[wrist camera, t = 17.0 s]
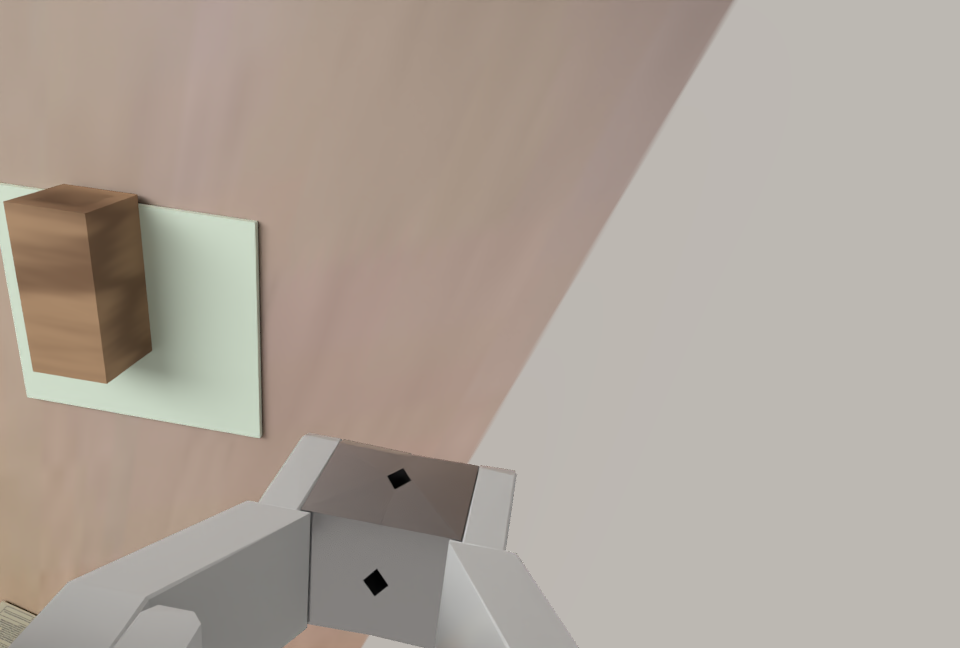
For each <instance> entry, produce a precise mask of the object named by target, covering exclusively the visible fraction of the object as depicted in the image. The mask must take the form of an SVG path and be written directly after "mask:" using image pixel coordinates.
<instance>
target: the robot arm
mask: <svg viewBox="0 0 960 648" xmlns="http://www.w3.org/2000/svg"><path fill="white" fill-rule="evenodd" d="M515 481H516V472H515V471H514V470H508V469H502V468H495V467H488V466H482V465H481V466H480V468H479V466H476V465H471V464H465V463H459V462H454V461H448V460H442V459H437V458H431V457H425V456H420V455H414V454H411V453H408V452H403V451H398V450H393V449H388V448H384V447H379V446H374V445H369V444H365V443H360V442H355V441H350V440H345V439H344V440H342V439H340V438H335V437H330V436H324V435H319V434H314V433H308V434H306V435H304V436H303V437H302V438H301V439H300V441H299V442H298V444H297V445H296V447H295V448H294V450H293V451H292V453H291V454H290V456H289V457H288V459H287V460H286V462H285V463H284V465H283V466H282V467H281V469H280V470H279V472H278V473H277V475H276V476H275V478H274V479H273V481H272V482H271V484H270V485H269V487H268V488H267V490H266V491H265V493H264V494H263V496H262V497H261V499H260V500H259V501H258V502H253V501H245V502H243V503H241V504H239V505H237V506H234V507H232V508H230V509H228V510H226V511H223V512H221V513H219V514H217V515H215V516H212V517H210V518H208V519H206V520H204V521H201V522H199V523H197V524H195V525H193V526H190V527H188V528H186V529H184V530H182V531H179V532H177V533H175V534H173V535H171V536H168V537H166V538H164V539H162V540H160V541H157V542H155V543H153V544H151V545H149V546H146V547H144V548H142V549H140V550H138V551H135V552H133V553H131V554H129V555H127V556H124V557H122V558H120V559H118V560H116V561H113V562H111V563H109V564H107V565H105V566H102V567H100V568H98V569H96V570H94V571H91V572H89V573H87V574H85V575H83V576H80V577H78V578H76V579H74V580H72V581H69V582H68V583H67V584H66V585H65V586H64V587H63V588H62V589H61V590H60V591H59V593H58V594H57V595H56V596H55V597H54V598H53V599H52V600H51V601H50V602H49V603H48V604H47V606H46V607H45V608H44V609H43V610H42V611H41V612H40V613H39V614H38V615H37V616H36V617H35V619H34V620H33V621H32V622H31V623H30V624H29V625H28V626H27V627H26V628H25V629H24V631H23V632H22V633H21V634H20V635H19V636H18V637H17V638H16V639H15V640H14V641H13V642H12V644H11V645H10V646H9V647H8V648H282V647H284V646H285V645H286V644H287V643H289V642H290V641H291V640H292V639H294V638H295V637H296V636H297V635H299V634H300V633H301V632H302V631H304V630H305V629H306V628H307V624H311V625H317V626H323V627H328V628H334V629H340V630H345V631H351V632H357V633H362V634H368V635H373V636H377V637H381V638H385V639H390V640H394V641H398V642H403V643H407V644H411V645H415V646H419V647H424V648H579V647H578V646H577V644H576V642H575V641H574V640H573V638H572V636H571V635H570V633H569V632H568V630H567V629H566V627H565V626H564V624H563V623H562V621H561V620H560V618H559V617H558V615H557V614H556V612H555V611H554V609H553V608H552V606H551V605H550V603H549V602H548V600H547V599H546V597H545V596H544V594H543V593H542V591H541V590H540V588H539V587H538V585H537V584H536V582H535V580H534V579H533V578H532V576H531V574H530V573H529V571H528V570H527V568H526V567H525V565H524V564H523V562H522V561H521V559H520V558H519V556H518V555H517V553H514V552H509V551H506V545H507V538H508V530H509V524H510V517H511V510H512V503H513V496H514V488H515Z"/></svg>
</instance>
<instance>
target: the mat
mask: <svg viewBox="0 0 960 648" xmlns="http://www.w3.org/2000/svg"><path fill="white" fill-rule="evenodd" d="M41 190H45V189H39V188H33V187H26V186H19V185H13V184H6V183H0V247H1V252H2V258H3V263H4V269H5V275H6V280H7V286H8V292H9V297H10V303H11V308H12V314H13V320H14V325H15V331H16V337H17V342H18V348H19V353H20V359H21V365H22V370H23V376H24V382H25V387H26V393H27V397H30V398H35V399H41V400H47V401H52V402H58V403H64V404H69V405H75V406H80V407H86V408H92V409H97V410H103V411H109V412H114V413H120V414H126V415H131V416H137V417H143V418H148V419H154V420H160V421H165V422H171V423H177V424H182V425H188V426H193V427H199V428H205V429H210V430H216V431H222V432H227V433H233V434H239V435H244V436H250V437H256V438H260V437H261V436H262V401H261V354H260V306H259V258H258V221H254V220H247V219H241V218H234V217H227V216H220V215H214V214H207V213H200V212H194V211H187V210H180V209H173V208H167V207H160V206H153V205H147V204H140V203H138V207H139V217H140V228H141V238H142V248H143V259H144V269H145V280H146V290H147V300H148V311H149V321H150V332H151V342H152V351H151V352H150V353H148V354H147V355H146V356H144V357H143V358H141V359H140V360H139V361H137V362H136V363H135V364H133V365H132V366H131V367H129V368H128V369H127V370H125V371H124V372H122V373H121V374H120V375H118V376H117V377H116V378H114V379H113V380H112V381H110V382H109V383H107V384H104V383H98V382H92V381H86V380H80V379H74V378H69V377H63V376H57V375H51V374H45V373H39V372H33V369H32V363H31V357H30V352H29V346H28V340H27V334H26V329H25V323H24V317H23V312H22V306H21V300H20V295H19V289H18V283H17V278H16V272H15V266H14V261H13V255H12V249H11V244H10V238H9V232H8V227H7V221H6V215H5V210H4V204H3V201H7V200H10V199H14V198H17V197H21V196H24V195H27V194H31V193H34V192H38V191H41Z"/></svg>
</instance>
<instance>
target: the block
mask: <svg viewBox="0 0 960 648" xmlns="http://www.w3.org/2000/svg"><path fill="white" fill-rule="evenodd" d="M3 204H4V210H5V215H6V221H7V227H8V232H9V238H10V244H11V249H12V255H13V261H14V266H15V272H16V278H17V283H18V289H19V295H20V300H21V306H22V312H23V317H24V323H25V329H26V334H27V340H28V346H29V352H30V357H31V363H32V369H33V372H39V373H45V374H51V375H57V376H63V377H69V378H74V379H80V380H86V381H92V382H98V383H104V384H107V383H109V382H110V381H112V380H113V379H114V378H116V377H117V376H118V375H120V374H121V373H122V372H124V371H125V370H127V369H128V368H129V367H131V366H132V365H133V364H135V363H136V362H137V361H139V360H140V359H141V358H143V357H144V356H146V355H147V354H148V353H150V352H151V351H152V342H151V332H150V321H149V311H148V300H147V290H146V280H145V269H144V259H143V248H142V238H141V228H140V217H139V207H138V197H137V194H130V193H123V192H116V191H109V190H102V189H95V188H88V187H81V186H74V185H67V184H62V185H58V186H55V187H52V188H48V189H45V190H41V191H38V192H34V193H31V194H27V195H24V196H21V197H17V198H14V199H10V200H7V201H3Z"/></svg>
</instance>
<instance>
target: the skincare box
mask: <svg viewBox="0 0 960 648" xmlns="http://www.w3.org/2000/svg"><path fill="white" fill-rule="evenodd" d="M35 617H36V616H35V615H33V614H31V613H29V612H27V611H25V610H23V609H20V608H18V607H16V606H13V605H11V604H9V603H6V602H4V601H2V602H1V603H0V648H8V647H9V646H10V645H11V644H12V642H13V641H14V640H15V639H16V638H17V637H18V636H19V635H20V634H21V633H22V632H23V631H24V629H25V628H26V627H27V626H28V625H29V624H30V623H31V622H32V621H33V620H34V619H35Z"/></svg>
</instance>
